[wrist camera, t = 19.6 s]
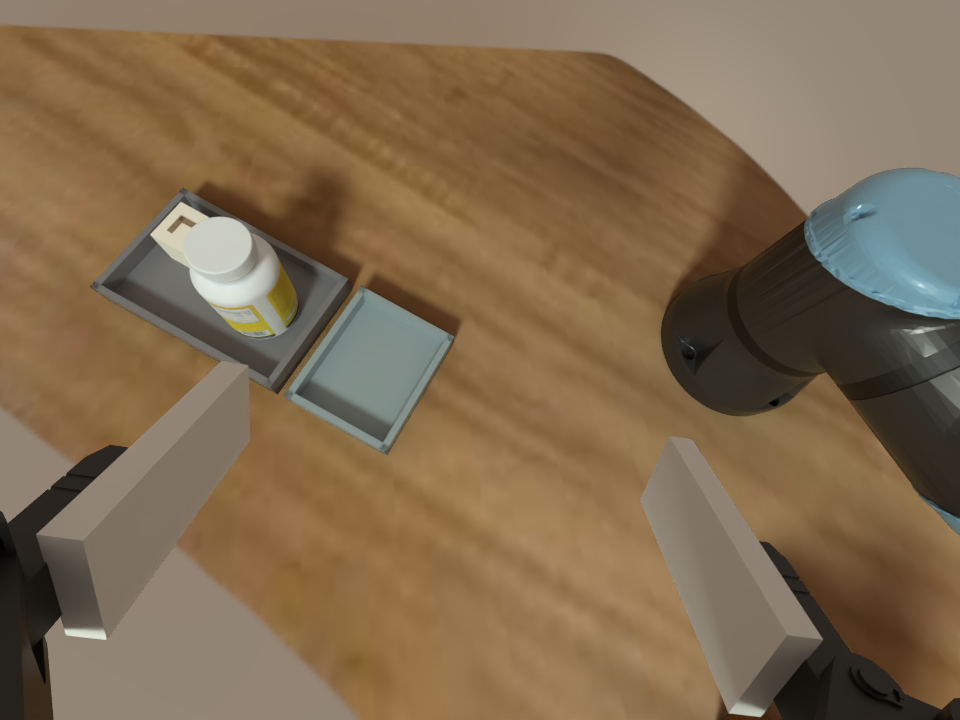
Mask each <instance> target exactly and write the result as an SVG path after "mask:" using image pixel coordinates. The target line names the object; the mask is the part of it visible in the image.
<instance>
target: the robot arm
mask: <svg viewBox="0 0 960 720" xmlns="http://www.w3.org/2000/svg"><path fill="white" fill-rule="evenodd" d="M661 338H662V347H663V352H664V355H665V358H666V361H667V364H668V366H669V368H670V370H671V372H672V373H673V375H674V377H675V378H676V380H677V381H678V382H679V384H680V385H681V386H682V387H683V388H684V389H685V391H686V392H687V393H689V394H690V395H691V396H692V397H693V398H694V399H696V400H697V401H698V402H700V403H701V404H703V405H705V406H706V407H708V408H710V409H712V410H715V411H717V412H720V413H723V414H727V415H732V416H751V415H756V414H760V413H763V412H767V411H770V410H773V409H776V408H778V407H780V406H782V405H784V404H786V403H787V402H789V401H790V400H791V399H792V398H794V397H795V396H796V395H797V394H798V393H799V392H800V391H801V390H802V389H803V388H804V387H805V386H807V385H808V384H809V383H810V382H811V381H812V380H813V379H814V378H815V377H816V376H817V375H818V374H821V373H824V372H827V373H828V375H829V376H830V377H831V378H832V380H833V381H834V382H835V383H836V385H837V386H838V387H839V388H840V390H841V391H842V392H843V394H844V395H845V396H846V398H847V399H848V400H849V401H850V403H851V404H852V405H853V407H854V408H855V409H856V411H857V412H858V413H859V415H860V416H861V417H862V419H863V420H864V421H865V423H866V424H867V425H868V427H869V428H870V429H871V431H872V432H873V433H874V435H875V436H876V437H877V439H878V440H879V441H880V442H881V444H882V445H883V446H884V448H885V449H886V450H887V452H888V453H889V454H890V456H891V457H892V458H893V460H894V461H895V462H896V464H897V465H898V466H899V468H900V469H901V470H902V472H903V473H904V474H905V476H906V477H907V478H908V480H909V481H910V482H911V484H912V486H913V488H914V490H915V491H916V492H918V494H919V496H920V497H921V498H922V499H923V500H924V501H925V502H926V503H927V504H928V505H929V506H931V507H932V508H933V509H934V510H935V511H936V512H937V513H938V514H939V515H940V516H941V518H942V519H943V520H944V521H945V522H946V523H947V524H948V525H949V526H950V527H951V528H952V529H953V530H954V531H955V532H956V533H957V534H959V535H960V178H959V177H957V176H954V175H951V174H948V173H943V172H941V173H937V172H934V171H931V170H927V169H922V168H901V169H893V170H887V171H884V172H880V173H877V174H874V175H872V176H869V177H867V178H865V179H864V180H862V181H860V182H858V183H857V184H855V185H854V186H852V187H851V188H849V189H848V190H846V191H845V192H843V193H842V194H841V195H839V196H837V197H836V198H834V199H831V200H828V201H826V202H824V203H823V204H821V205H820V206H819V207H817V208H816V209H815V210H814V211H812V212H811V214H810V216H809V217H808V218H807V219H806V220H805V221H804V222H802V223H801V224H800V225H799V226H797V227H796V228H795V229H793V230H792V231H791V232H789V233H788V234H787V235H785V236H784V237H782V238H781V239H780V240H778V241H777V242H776V243H774V244H773V245H772V246H770V247H769V248H767V249H766V250H765V251H763V252H762V253H761V254H759V255H758V256H756V257H755V258H754V259H752V260H751V261H750V262H749V263H747V264H746V265H745V266H743V267H741V268H738V269H734V270H731V271H727V272H724V273H720V274H716V275H711V276H707V277H704V278H702V279H700V280H698V281H696V282H694V283H693V284H691V285H690V286H689V287H687V288H686V289H685V290H684V291H683V292H681V293H680V294H679V295H678V296H677V297H676V298H675V299H674V300H673V301H672V303H671V304H670V305H669V307H668V309H667V311H666V313H665V316H664V319H663V323H662V331H661ZM249 441H250V412H249V368H248V365H244V364H238V363H232V362H226V361H221V362H220V363H219V364H218V365H217V366H216V367H215V368H214V369H213V370H212V371H210V372H209V373H208V374H207V375H206V376H205V377H204V378H203V379H202V380H201V381H200V382H199V383H198V384H197V385H195V386H194V387H193V388H192V389H191V390H190V391H189V392H188V393H187V394H186V395H185V396H184V397H183V398H182V399H180V400H179V401H178V402H177V403H176V404H175V405H174V406H173V407H172V408H171V409H170V410H169V411H168V412H167V413H166V414H164V415H163V416H162V417H161V418H160V419H159V420H158V421H157V422H156V423H155V424H154V425H153V426H152V427H151V428H149V429H148V430H147V431H146V432H145V433H144V434H143V435H142V436H141V437H140V438H139V439H138V440H137V441H136V442H135V443H133V444H132V445H131V446H130V447H129V448H127V447H121V446H114V445H109V446H107V447H105V448H103V449H101V450H99V451H97V452H95V453H93V454H91V455H89V456H87V457H85V458H84V459H83V460H81V461H80V462H79V463H78V464H77V465H76V466H74V467H73V468H72V469H71V470H70V471H69V472H67V475H66V476H63V477H62V478H60V479H59V480H58V481H57V482H56V483H54V484H53V485H52V486H51V489H50V490H46V491H45V492H44V493H43V494H42V495H41V496H40V497H38V498H37V499H36V500H35V501H33V502H32V503H31V504H30V505H29V506H28V507H27V508H25V509H24V510H23V511H22V512H21V513H19V514H18V515H17V516H16V517H15V518H14V519H12V520H11V521H10V522H9V523H8V524H7V521H6V519H5V517H4V515H3V513H2V512H1V511H0V720H53V709H52V697H51V685H50V672H49V660H48V648H47V642H46V639H45V637H44V635H45V634H46V633H47V632H48V630H49V629H50V628H51V627H52V626H53V625H54V623H55V622H56V621H57V620H58V619H59V617H60V616H61V620H62V623H63V626H64V630H65V633H66V635H69V636H78V637H87V638H95V639H104V640H107V639H108V637H109V636H110V635H111V633H112V632H113V630H114V629H115V628H116V626H117V625H118V623H119V622H120V621H121V619H122V618H123V617H124V615H125V614H126V612H127V611H128V610H129V608H130V607H131V605H132V604H133V602H134V601H135V600H136V598H137V597H138V595H139V594H140V593H141V591H142V590H143V589H144V587H145V586H146V585H147V583H148V582H149V580H150V579H151V578H152V576H153V575H154V573H155V572H156V571H157V569H158V568H159V566H160V565H161V564H162V562H163V561H164V559H165V558H166V557H167V555H168V554H169V553H170V551H171V550H172V548H173V547H174V546H175V544H176V543H177V541H178V540H179V539H180V537H181V536H182V534H183V533H184V532H185V530H186V529H187V527H188V526H189V525H190V523H191V522H192V520H193V519H194V518H195V516H196V515H197V514H198V512H199V511H200V509H201V508H202V507H203V505H204V504H205V502H206V501H207V500H208V498H209V497H210V495H211V494H212V493H213V491H214V490H215V488H216V487H217V486H218V484H219V483H220V481H221V480H222V479H223V477H224V476H225V475H226V473H227V472H228V470H229V469H230V468H231V466H232V465H233V463H234V462H235V461H236V459H237V458H238V456H239V455H240V454H241V452H242V451H243V449H244V448H245V447H246V445H247V444H248V443H249ZM640 501H641V504H642V506H643V509H644V511H645V513H646V516H647V518H648V521H649V523H650V526H651V528H652V530H653V533H654V535H655V538H656V540H657V542H658V545H659V547H660V550H661V552H662V554H663V557H664V559H665V562H666V564H667V566H668V569H669V571H670V574H671V576H672V578H673V581H674V583H675V586H676V588H677V591H678V593H679V595H680V598H681V600H682V603H683V605H684V607H685V610H686V612H687V615H688V617H689V619H690V622H691V624H692V627H693V629H694V631H695V634H696V636H697V639H698V641H699V643H700V646H701V648H702V651H703V653H704V655H705V658H706V660H707V663H708V665H709V668H710V670H711V672H712V675H713V677H714V680H715V682H716V684H717V687H718V689H719V692H720V694H721V696H722V699H723V701H724V704H725V706H726V708H727V711H728V713H731V714H739V715H748V716H756V717H761V716H762V715H763V714H764V713H765V711H766V710H767V709H768V708H769V706H770V705H771V704H772V703H773V701H774V702H775V704H776V706H777V708H778V710H779V712H780V714H781V716H782V718H783V719H782V720H960V698H954V699H953V700H952V701H951V702H950V703H949V704H947V705H946V706H945V707H944V708H943V709H942V710H941V709H939V708H936V707H934V706H931V705H929V704H927V703H924V702H922V701H920V700H917V699H915V698H912V697H910V696H908V695H905V694H904V693H903V691H902V690H901V688H900V687H899V685H898V684H897V683H896V682H895V681H894V680H893V679H892V678H891V677H890V676H889V675H888V674H887V672H885V671H884V670H883V669H881V668H880V667H879V666H877V665H876V664H875V663H873V662H872V661H870V660H868V659H866V658H864V657H863V656H861V655H859V654H855V653H851V652H850V650H849V649H848V647H847V646H846V644H845V643H844V642H843V640H842V639H841V637H840V636H839V634H838V633H837V631H836V630H835V629H834V627H833V626H832V624H831V623H830V621H829V620H828V618H827V617H826V616H825V614H824V613H823V611H822V610H821V608H820V607H819V605H818V604H817V603H816V601H815V600H814V598H813V597H812V596H810V595H809V593H810V592H809V591H808V590H807V588H806V587H805V585H804V584H803V582H802V581H799V577H798V575H797V574H796V572H795V571H794V569H793V568H792V566H791V565H790V564H789V562H788V561H787V559H786V558H785V557H783V556H782V555H781V554H780V553H779V552H778V551H777V550H776V549H775V548H774V547H773V546H772V545H771V544H770V543H768V542H761V541H758V539H757V538H756V536H755V535H754V533H753V532H752V530H751V529H750V527H749V526H748V524H747V523H746V521H745V520H744V518H743V516H742V515H741V513H740V512H739V510H738V509H737V507H736V506H735V504H734V503H733V501H732V500H731V498H730V497H729V495H728V494H727V492H726V491H725V489H724V488H723V486H722V484H721V483H720V481H719V480H718V478H717V477H716V475H715V474H714V472H713V471H712V469H711V468H710V466H709V465H708V463H707V462H706V460H705V459H704V457H703V456H702V454H701V452H700V451H699V449H698V448H697V446H696V445H695V443H694V442H693V440H692V439H687V438H681V437H675V436H669V437H668V439H667V442H666V444H665V446H664V448H663V451H662V453H661V455H660V457H659V459H658V462H657V464H656V466H655V468H654V471H653V473H652V475H651V477H650V479H649V482H648V484H647V486H646V488H645V491H644V493H643V495H642V497H641V500H640Z"/></svg>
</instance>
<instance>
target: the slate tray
mask: <svg viewBox="0 0 960 720" xmlns="http://www.w3.org/2000/svg"><path fill="white" fill-rule="evenodd" d="M453 340H454V336H452V335H450V334H448V333H446V332H445V331H443V330H441V329H439V328H437V327H436V326H434V325H432V324H430V323H428V322H426V321H425V320H423V319H421V318H419V317H417V316H415V315H414V314H412V313H410V312H408V311H406V310H405V309H403V308H401V307H399V306H397V305H395V304H394V303H392V302H390V301H388V300H386V299H384V298H383V297H381V296H379V295H377V294H375V293H374V292H372V291H370V290H368V289H366V288H364V287H363V286H361V287H360V289H359V290H358V291H357V293H356V294H355V296H354V297H353V299H352V300H351V301H350V303H349V304H348V306H347V307H346V308H345V310H344V311H343V313H342V314H341V316H340V317H339V318H338V320H337V321H336V323H335V324H334V325H333V327H332V328H331V330H330V331H329V333H328V334H327V335H326V337H325V338H324V340H323V341H322V342H321V344H320V345H319V347H318V348H317V350H316V351H315V352H314V354H313V355H312V357H311V358H310V359H309V361H308V362H307V364H306V365H305V367H304V368H303V369H302V371H301V372H300V374H299V375H298V376H297V378H296V379H295V381H294V382H293V384H292V385H291V386H290V388H289V389H288V391H287V392H286V393H285V395H284V396H285V397H286V398H287V399H288V400H289V401H290V402H292V403H294V404H295V405H297V406H299V407H301V408H303V409H304V410H306V411H308V412H310V413H312V414H313V415H315V416H317V417H319V418H320V419H322V420H324V421H326V422H328V423H329V424H331V425H333V426H335V427H337V428H338V429H340V430H342V431H344V432H345V433H347V434H349V435H351V436H353V437H354V438H356V439H358V440H360V441H362V442H363V443H365V444H367V445H369V446H370V447H372V448H374V449H376V450H378V451H379V452H381V453H383V454H385V455H387V454H388V453H389V451H390V449H391V448H392V446H393V444H394V443H395V441H396V439H397V438H398V436H399V434H400V433H401V431H402V429H403V428H404V426H405V424H406V422H407V421H408V419H409V417H410V416H411V414H412V412H413V411H414V409H415V407H416V406H417V404H418V402H419V401H420V399H421V397H422V396H423V394H424V392H425V390H426V389H427V387H428V385H429V384H430V382H431V380H432V379H433V377H434V375H435V374H436V372H437V370H438V369H439V367H440V365H441V364H442V362H443V360H444V358H445V357H446V355H447V353H448V352H449V350H450V348H451V347H452V344H453Z"/></svg>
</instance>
